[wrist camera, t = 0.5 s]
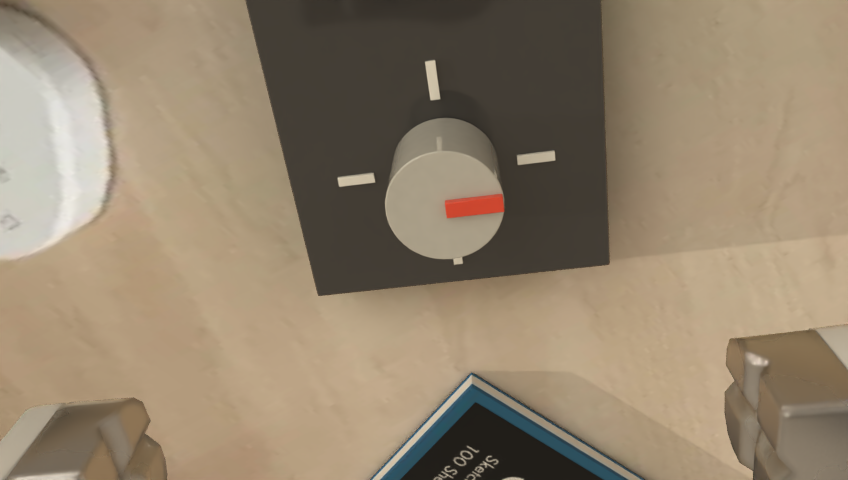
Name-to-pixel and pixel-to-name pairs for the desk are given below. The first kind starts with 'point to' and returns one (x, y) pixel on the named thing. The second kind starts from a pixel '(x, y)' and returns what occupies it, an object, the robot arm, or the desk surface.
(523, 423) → the sketchbook
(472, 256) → the dial base plate
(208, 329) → the desk surface
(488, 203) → the knob
